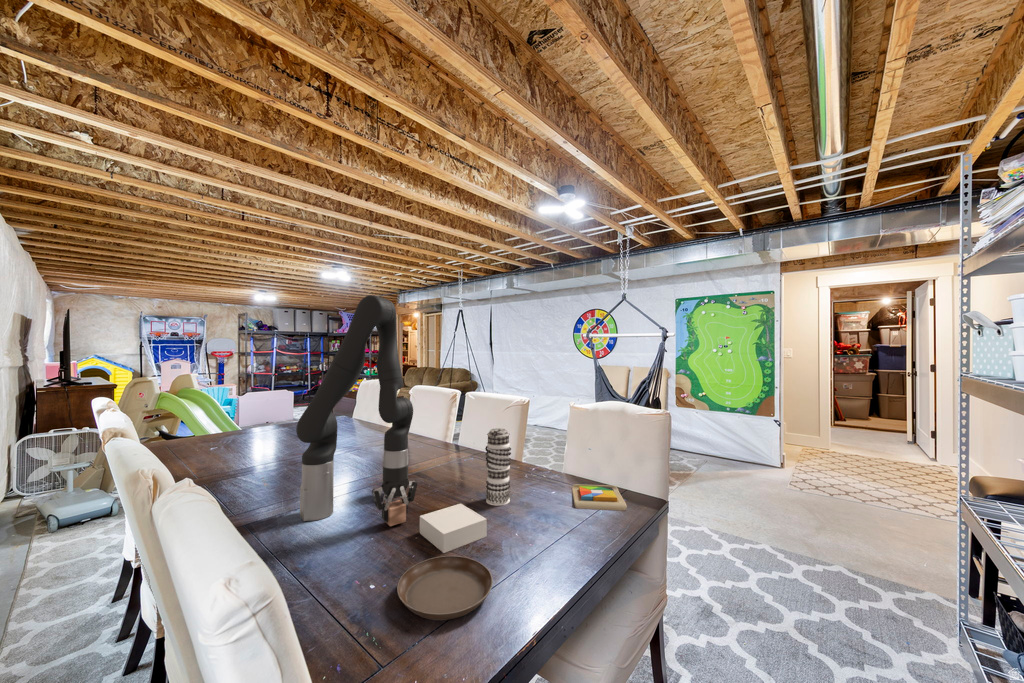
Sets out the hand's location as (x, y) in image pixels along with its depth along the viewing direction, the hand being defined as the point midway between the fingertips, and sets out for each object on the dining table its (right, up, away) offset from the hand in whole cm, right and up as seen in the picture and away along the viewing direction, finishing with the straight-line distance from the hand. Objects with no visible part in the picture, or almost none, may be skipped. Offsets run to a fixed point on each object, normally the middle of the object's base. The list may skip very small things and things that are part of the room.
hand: (394, 518), depth 118 cm
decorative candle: (+31, -2, +18) cm, 36 cm away
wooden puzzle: (+67, -3, +20) cm, 70 cm away
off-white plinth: (+19, -2, -7) cm, 20 cm away
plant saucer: (+21, -2, -33) cm, 39 cm away
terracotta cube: (0, -1, 0) cm, 1 cm away
